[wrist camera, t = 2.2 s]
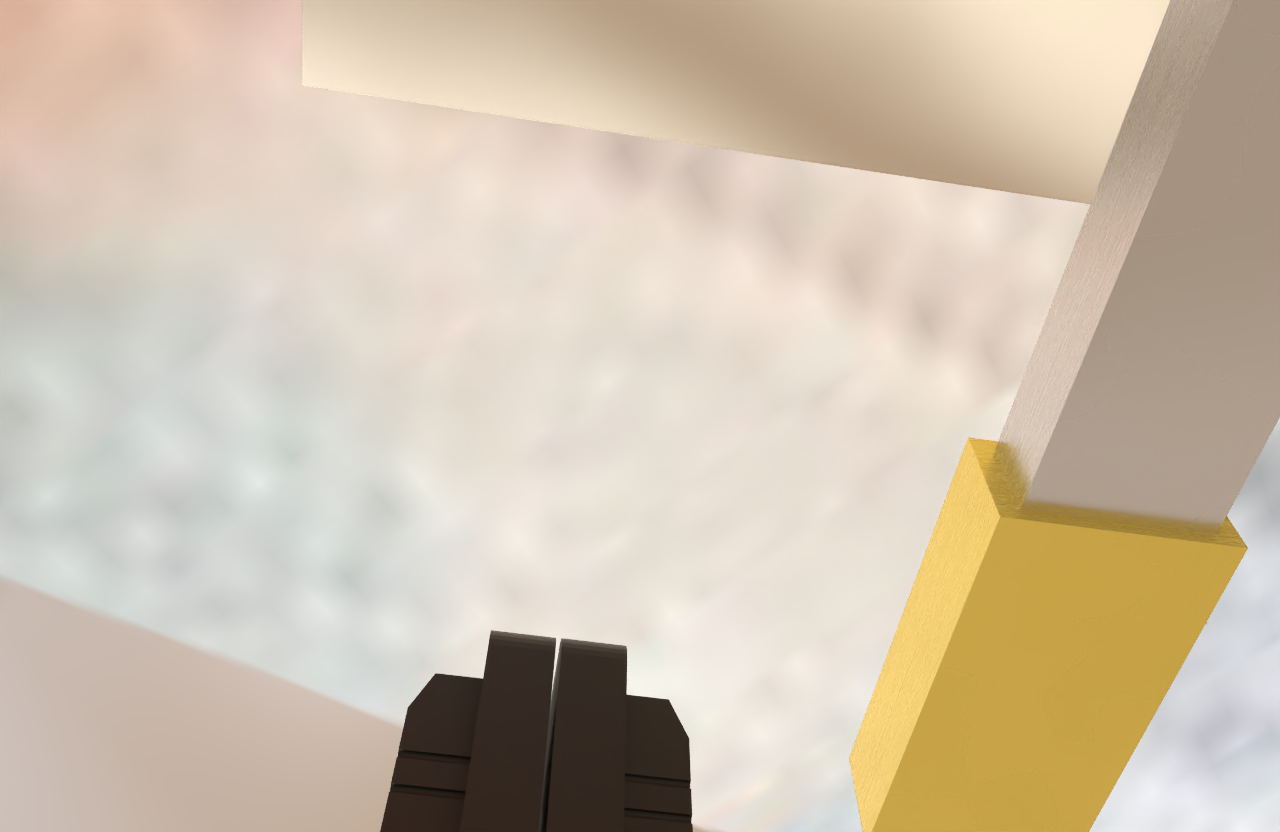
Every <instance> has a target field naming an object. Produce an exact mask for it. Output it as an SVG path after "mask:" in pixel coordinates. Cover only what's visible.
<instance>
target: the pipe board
mask: <svg viewBox="0 0 1280 832" xmlns="http://www.w3.org/2000/svg"><path fill="white" fill-rule="evenodd" d="M1169 2H1170V0H302V86H309V87H316V88H322V89H329V90H335V91H342V92H349V93H355V94H362V95H369V96H375V97H382V98H389V99H395V100H402V101H409V102H415V103H422V104H428V105H435V106H442V107H448V108H455V109H462V110H468V111H475V112H482V113H488V114H495V115H501V116H508V117H515V118H521V119H528V120H535V121H541V122H548V123H555V124H561V125H568V126H575V127H581V128H588V129H594V130H601V131H608V132H614V133H621V134H628V135H634V136H641V137H648V138H654V139H661V140H667V141H674V142H681V143H687V144H694V145H701V146H707V147H714V148H721V149H727V150H734V151H741V152H747V153H754V154H760V155H767V156H774V157H780V158H787V159H794V160H800V161H807V162H814V163H820V164H827V165H834V166H840V167H847V168H853V169H860V170H867V171H873V172H880V173H887V174H893V175H900V176H907V177H913V178H920V179H926V180H933V181H940V182H946V183H953V184H960V185H966V186H973V187H980V188H986V189H993V190H1000V191H1006V192H1013V193H1019V194H1026V195H1033V196H1039V197H1046V198H1053V199H1059V200H1066V201H1073V202H1079V203H1086V204H1091V203H1092V200H1093V197H1094V195H1095V192H1096V190H1097V187H1098V185H1099V182H1100V179H1101V177H1102V174H1103V172H1104V169H1105V167H1106V164H1107V162H1108V159H1109V156H1110V154H1111V151H1112V149H1113V146H1114V144H1115V141H1116V138H1117V136H1118V133H1119V131H1120V128H1121V126H1122V123H1123V120H1124V118H1125V115H1126V113H1127V110H1128V108H1129V105H1130V102H1131V100H1132V97H1133V95H1134V92H1135V90H1136V87H1137V84H1138V82H1139V79H1140V77H1141V74H1142V72H1143V69H1144V66H1145V64H1146V61H1147V59H1148V56H1149V54H1150V51H1151V48H1152V46H1153V43H1154V41H1155V38H1156V36H1157V33H1158V31H1159V28H1160V25H1161V23H1162V20H1163V18H1164V15H1165V13H1166V10H1167V7H1168V5H1169Z"/></svg>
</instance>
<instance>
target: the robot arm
mask: <svg viewBox="0 0 1280 832" xmlns="http://www.w3.org/2000/svg"><path fill="white" fill-rule="evenodd" d="M555 647H556V638H551V637H543V636H534V635H525V634H517V633H508V632H500V631H491V634H490V639H489V646H488V652H487V658H486V665H485V671H484V678H483V679H480V678H471V677H463V676H454V675H445V674H435V675H434V676H433V677H432V679H431V680H430V681H429V682H428V684H427V685H426V686H425V687H424V688H423V690H422V691H421V692H420V693H419V695H418V696H417V697H416V698H415V700H414V701H413V702H412V703H411V705H410V706H409V707H408V710H407V714H406V719H405V723H404V728H403V733H402V737H401V742H400V746H399V752H398V757H397V759H396V764H395V768H394V773H393V777H392V782H391V788H390V792H389V796H388V800H387V804H386V809H385V813H384V818H383V822H382V826H381V831H380V832H693V828H692V824H691V817H692V803H691V789H690V781H691V777H690V752H689V738H688V736H687V734H686V732H685V730H684V728H683V726H682V724H681V722H680V720H679V719H678V717H677V715H676V713H675V711H674V709H673V707H672V705H671V703H670V701H669V700H667V699H658V698H650V697H641V696H632V695H626V686H627V648H626V646H622V645H613V644H605V643H596V642H588V641H579V640H571V639H561V642H560V647H559V653H558V659H557V666H556V672H555V678H554V684H553V690H552V681H553V670H554V659H555ZM551 692H552V697H551Z"/></svg>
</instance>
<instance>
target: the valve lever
mask: <svg viewBox="0 0 1280 832" xmlns="http://www.w3.org/2000/svg"><path fill="white" fill-rule="evenodd" d="M1279 417H1280V0H1170V2H1169V5H1168V7H1167V10H1166V13H1165V15H1164V18H1163V20H1162V23H1161V25H1160V28H1159V31H1158V33H1157V36H1156V38H1155V41H1154V43H1153V46H1152V48H1151V51H1150V54H1149V56H1148V59H1147V61H1146V64H1145V66H1144V69H1143V72H1142V74H1141V77H1140V79H1139V82H1138V84H1137V87H1136V90H1135V92H1134V95H1133V97H1132V100H1131V102H1130V105H1129V108H1128V110H1127V113H1126V115H1125V118H1124V120H1123V123H1122V126H1121V128H1120V131H1119V133H1118V136H1117V138H1116V141H1115V144H1114V146H1113V149H1112V151H1111V154H1110V156H1109V159H1108V162H1107V164H1106V167H1105V169H1104V172H1103V174H1102V177H1101V179H1100V182H1099V185H1098V187H1097V190H1096V192H1095V195H1094V197H1093V200H1092V203H1091V205H1090V208H1089V210H1088V213H1087V215H1086V218H1085V221H1084V223H1083V226H1082V228H1081V231H1080V233H1079V236H1078V239H1077V241H1076V244H1075V246H1074V249H1073V251H1072V254H1071V257H1070V259H1069V262H1068V264H1067V267H1066V269H1065V272H1064V275H1063V277H1062V280H1061V282H1060V285H1059V287H1058V290H1057V293H1056V295H1055V298H1054V300H1053V303H1052V305H1051V308H1050V310H1049V313H1048V316H1047V318H1046V321H1045V323H1044V326H1043V328H1042V331H1041V334H1040V336H1039V339H1038V341H1037V344H1036V346H1035V349H1034V352H1033V354H1032V357H1031V359H1030V362H1029V364H1028V367H1027V370H1026V372H1025V375H1024V377H1023V380H1022V382H1021V385H1020V388H1019V390H1018V393H1017V395H1016V398H1015V400H1014V403H1013V406H1012V408H1011V411H1010V413H1009V416H1008V418H1007V421H1006V424H1005V426H1004V429H1003V431H1002V434H1001V436H1000V439H999V441H998V442H997V441H989V440H982V439H974V438H968V440H967V443H966V445H965V448H964V451H963V453H962V456H961V459H960V461H959V464H958V467H957V469H956V472H955V475H954V478H953V480H952V483H951V486H950V488H949V491H948V494H947V496H946V499H945V502H944V504H943V507H942V510H941V512H940V515H939V518H938V521H937V523H936V526H935V529H934V531H933V534H932V537H931V539H930V542H929V545H928V547H927V550H926V553H925V556H924V558H923V561H922V564H921V566H920V569H919V572H918V574H917V577H916V580H915V582H914V585H913V588H912V590H911V593H910V596H909V599H908V601H907V604H906V607H905V609H904V612H903V615H902V617H901V620H900V623H899V625H898V628H897V631H896V634H895V636H894V639H893V642H892V644H891V647H890V650H889V652H888V655H887V658H886V660H885V663H884V666H883V668H882V671H881V674H880V677H879V679H878V682H877V685H876V687H875V690H874V693H873V695H872V698H871V701H870V703H869V706H868V709H867V712H866V714H865V717H864V720H863V722H862V725H861V728H860V730H859V733H858V736H857V738H856V741H855V744H854V747H853V749H852V752H851V755H850V757H849V760H850V765H851V770H852V776H853V781H854V787H855V792H856V798H857V803H858V808H859V814H860V819H861V825H862V830H863V832H1089V830H1090V829H1091V827H1092V825H1093V823H1094V821H1095V820H1096V818H1097V816H1098V814H1099V813H1100V811H1101V809H1102V807H1103V805H1104V804H1105V802H1106V800H1107V798H1108V797H1109V795H1110V793H1111V791H1112V789H1113V788H1114V786H1115V784H1116V782H1117V780H1118V779H1119V777H1120V775H1121V773H1122V772H1123V770H1124V768H1125V766H1126V764H1127V763H1128V761H1129V759H1130V757H1131V756H1132V754H1133V752H1134V750H1135V748H1136V747H1137V745H1138V743H1139V741H1140V739H1141V738H1142V736H1143V734H1144V732H1145V731H1146V729H1147V727H1148V725H1149V723H1150V722H1151V720H1152V718H1153V716H1154V715H1155V713H1156V711H1157V709H1158V707H1159V706H1160V704H1161V702H1162V700H1163V698H1164V697H1165V695H1166V693H1167V691H1168V690H1169V688H1170V686H1171V684H1172V682H1173V681H1174V679H1175V677H1176V675H1177V674H1178V672H1179V670H1180V668H1181V666H1182V665H1183V663H1184V661H1185V659H1186V657H1187V656H1188V654H1189V652H1190V650H1191V649H1192V647H1193V645H1194V643H1195V641H1196V640H1197V638H1198V636H1199V634H1200V633H1201V631H1202V629H1203V627H1204V625H1205V624H1206V622H1207V620H1208V618H1209V617H1210V615H1211V613H1212V611H1213V609H1214V608H1215V606H1216V604H1217V602H1218V600H1219V599H1220V597H1221V595H1222V593H1223V592H1224V590H1225V588H1226V586H1227V584H1228V583H1229V581H1230V579H1231V577H1232V576H1233V574H1234V572H1235V570H1236V568H1237V567H1238V565H1239V563H1240V561H1241V559H1242V558H1243V556H1244V554H1245V552H1246V551H1247V549H1248V548H1247V546H1246V545H1245V543H1244V542H1243V540H1242V539H1241V537H1240V535H1239V534H1238V532H1237V531H1236V529H1235V528H1234V526H1233V525H1232V523H1231V522H1230V520H1229V519H1228V517H1227V514H1228V512H1229V510H1230V508H1231V507H1232V505H1233V503H1234V501H1235V499H1236V497H1237V495H1238V494H1239V492H1240V490H1241V488H1242V486H1243V484H1244V482H1245V481H1246V479H1247V477H1248V475H1249V473H1250V471H1251V469H1252V468H1253V466H1254V464H1255V462H1256V460H1257V458H1258V456H1259V455H1260V453H1261V451H1262V449H1263V447H1264V445H1265V443H1266V442H1267V440H1268V438H1269V436H1270V434H1271V432H1272V430H1273V429H1274V427H1275V425H1276V423H1277V421H1278V419H1279Z"/></svg>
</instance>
